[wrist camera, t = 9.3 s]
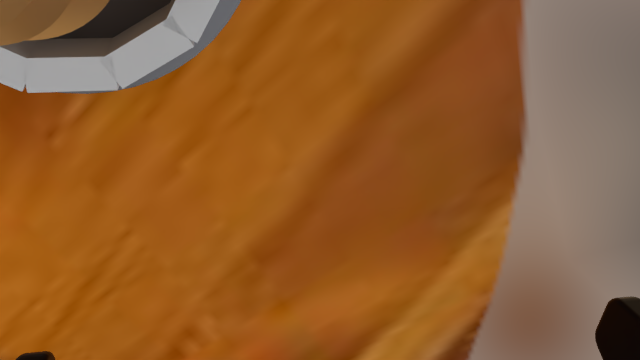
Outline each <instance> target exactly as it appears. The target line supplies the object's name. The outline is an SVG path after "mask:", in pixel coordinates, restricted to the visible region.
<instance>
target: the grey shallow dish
mask: <svg viewBox="0 0 640 360" xmlns="http://www.w3.org/2000/svg"><path fill="white" fill-rule="evenodd" d="M240 1H241V0H110V1H109V2H108V3H107V5H106V6H105V7H104V9H103V10H102V11H101V12H100V13H99V14H98V15H97V16H96V17H94V18H93V19H92V20H90V21H89V22H88V23H86V24H85V25H84V26H82V27H80V28H78V29H76V30H74V31H72V32H70V33H67V34H64V35H61V36H58V37H54V38H49V39H44V40H31V41H26V40H25V41H22V42H19V43H14V44H9V45H2V46H0V83H2V84H5V85H7V86H9V87H12V88H14V89H17V90H19V91H23V90H24V88H25V87H26V88H27V92H28V93H37V92H61V93H86V94H88V93H100V92H111V91H116V90H121V89H126V88H130V87H135V86H138V85H141V84H144V83H147V82H149V81H152V80H155V79H158V78H160V77H162V76H164V75H166V74H168V73H170V72H172V71H174V70H176V69H177V68H179V67H180V66H182V65H183V64H185V63H186V62H188V61H189V60H191V59H192V58H193V57H195V56H196V55H197V54H198V53H199V52H201V51H202V50H203V49H204V48H205V47H206V46H207V45H208V44H209V43H210V42H212V41H213V39H214V38H215V37H216V36H217V35H218V33H219V32H220V31H221V30H222V29H223V27H224V26H225V25H226V24H227V23H228V21H229V19H230V18H231V16H232V15H233V13H234V11H235V10H236V8H237V7H238V5H239V3H240Z"/></svg>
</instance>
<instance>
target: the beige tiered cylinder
mask: <svg viewBox="0 0 640 360" xmlns="http://www.w3.org/2000/svg"><path fill="white" fill-rule="evenodd" d="M109 1H110V0H0V46H2V45H9V44H14V43H19V42H22V41H25V40H26V41H31V40H44V39H49V38H54V37H58V36H61V35H64V34H67V33H70V32H72V31H74V30H76V29H78V28H80V27H82V26H84V25H85V24H86V23H88V22H89V21H90V20H92V19H93V18H94V17H96V16H97V15H98V14H99V13H100V12H101V11H102V10H103V9H104V7H105V6H106V5H107V3H108V2H109Z"/></svg>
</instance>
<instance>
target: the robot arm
mask: <svg viewBox="0 0 640 360" xmlns="http://www.w3.org/2000/svg"><path fill="white" fill-rule="evenodd" d="M595 338H596V343H597V346H598V349H599V351H600V353H601V356H602V358H603V360H640V299H639V298H637V297H621V298H614V299H612V300H610V301H609V302H608V304H607V306H606V308H605V311H604V313H603V315H602V317H601V320H600V322H599V324H598V326H597V329H596V333H595ZM16 360H55V357H54V355H53V354H52V353H51V352H48V351H43V352H33V353H25V354H22V355H20V356H19V357H18V358H17V359H16Z"/></svg>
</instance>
